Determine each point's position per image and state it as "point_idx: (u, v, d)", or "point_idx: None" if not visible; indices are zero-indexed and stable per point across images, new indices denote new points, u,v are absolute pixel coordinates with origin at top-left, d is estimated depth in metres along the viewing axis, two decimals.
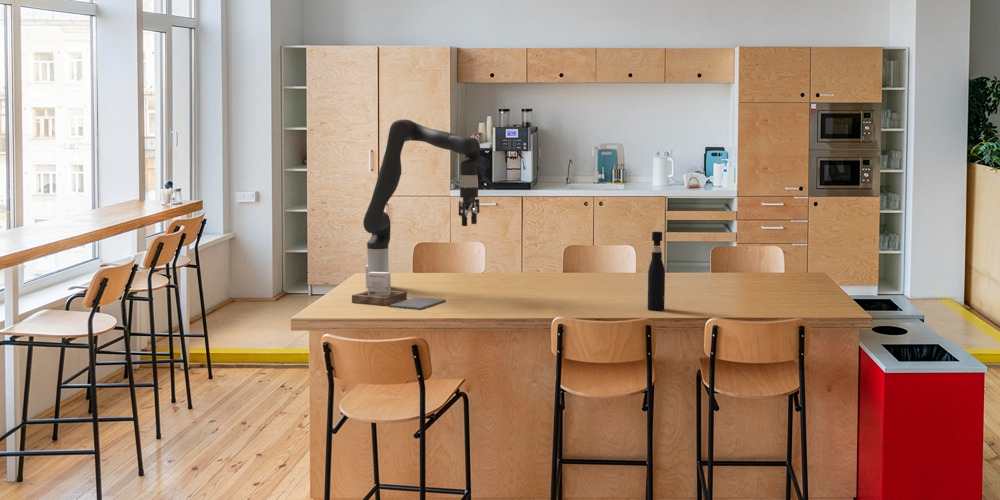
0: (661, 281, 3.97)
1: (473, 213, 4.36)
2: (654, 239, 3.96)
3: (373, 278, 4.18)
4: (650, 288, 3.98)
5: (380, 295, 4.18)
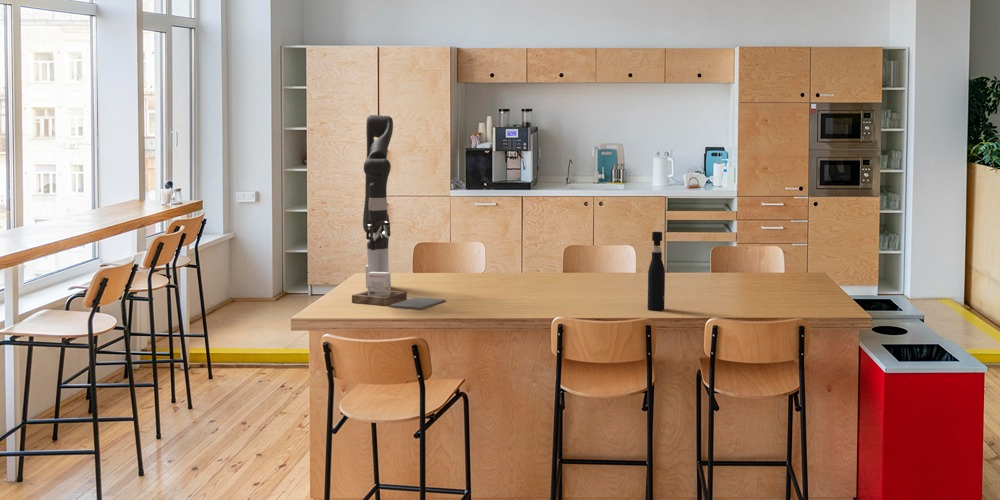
0: (661, 281, 3.97)
1: (383, 236, 4.22)
2: (654, 239, 3.96)
3: (373, 278, 4.18)
4: (650, 288, 3.98)
5: (380, 295, 4.18)
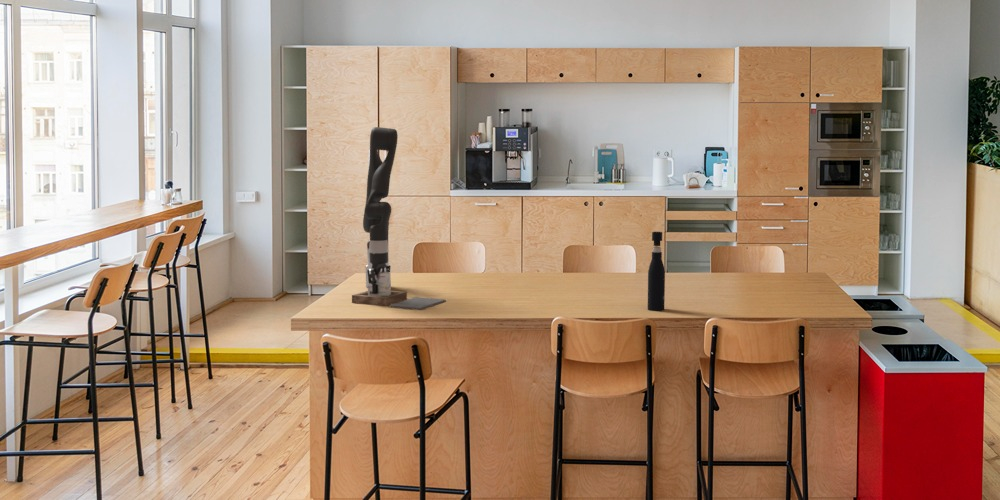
0: (661, 281, 3.97)
1: None
2: (654, 239, 3.96)
3: None
4: (650, 288, 3.98)
5: (380, 295, 4.18)
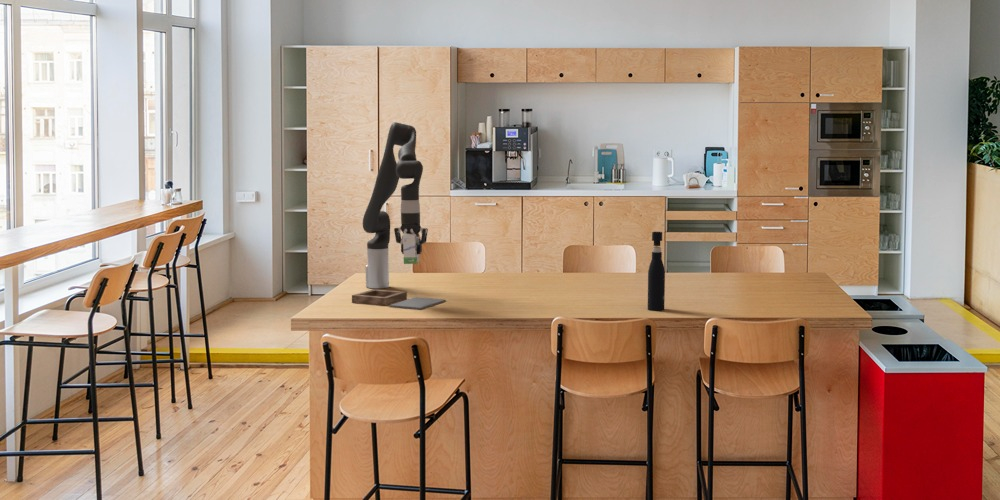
0: (661, 281, 3.97)
1: None
2: (654, 239, 3.96)
3: None
4: (650, 288, 3.98)
5: None
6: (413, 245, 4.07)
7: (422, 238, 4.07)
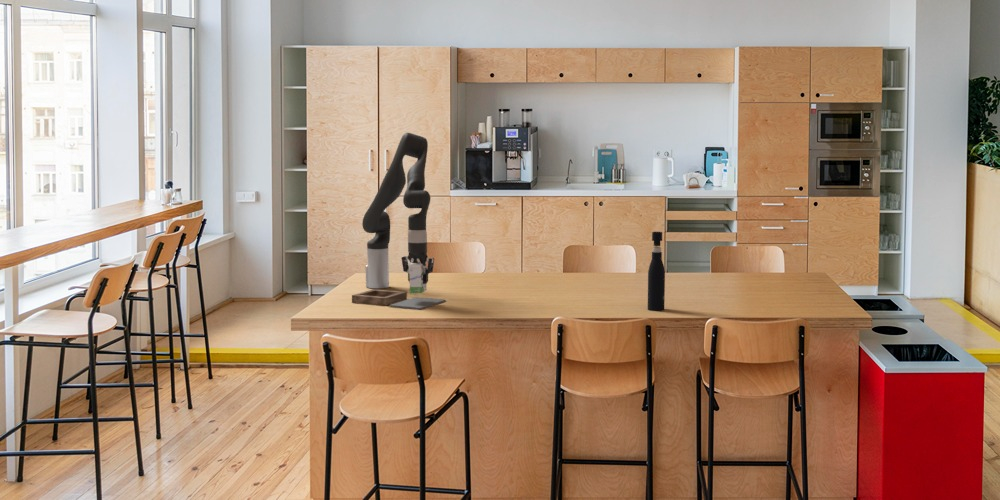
0: (661, 281, 3.97)
1: None
2: (654, 239, 3.96)
3: None
4: (650, 288, 3.98)
5: None
6: (419, 275, 4.08)
7: (428, 268, 4.08)
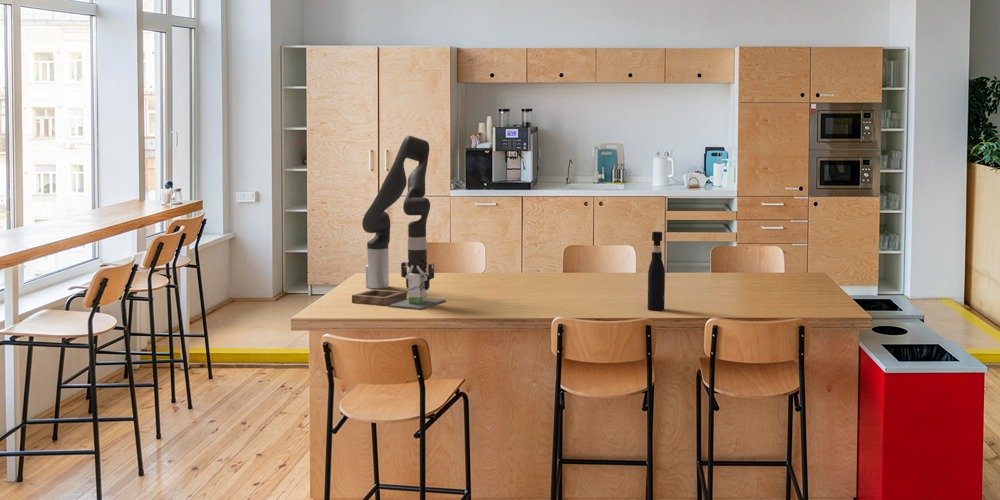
0: (661, 281, 3.97)
1: None
2: (654, 239, 3.96)
3: None
4: (650, 288, 3.98)
5: None
6: (418, 285, 4.08)
7: (429, 274, 4.08)
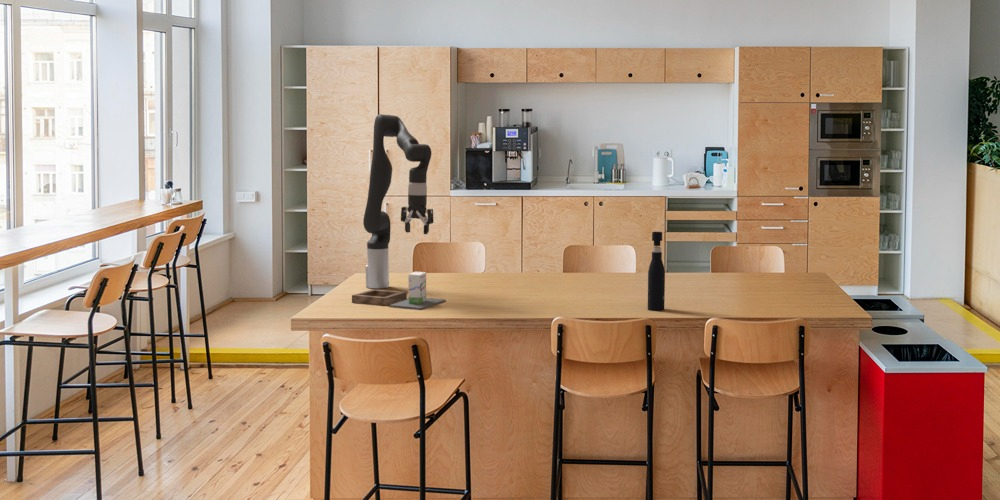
0: (661, 281, 3.97)
1: None
2: (654, 239, 3.96)
3: None
4: (650, 288, 3.98)
5: None
6: (418, 285, 4.08)
7: (428, 219, 4.19)
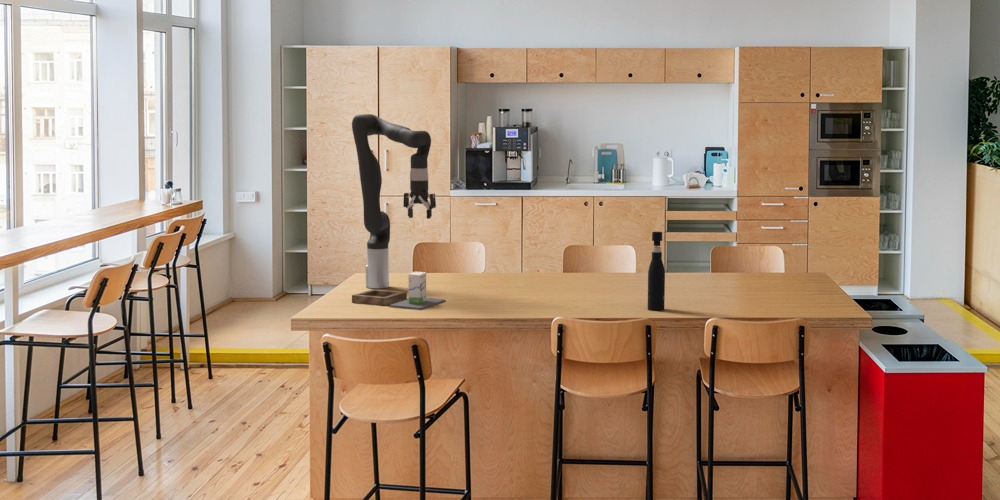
0: (661, 281, 3.97)
1: None
2: (654, 239, 3.96)
3: None
4: (650, 288, 3.98)
5: None
6: (418, 285, 4.08)
7: (431, 203, 4.28)
